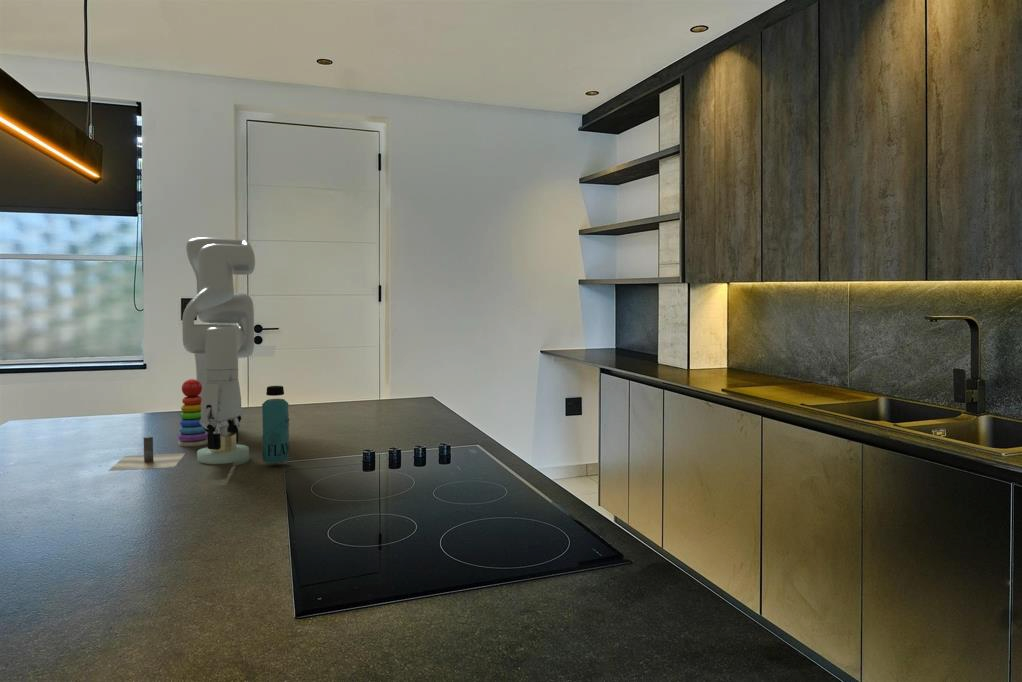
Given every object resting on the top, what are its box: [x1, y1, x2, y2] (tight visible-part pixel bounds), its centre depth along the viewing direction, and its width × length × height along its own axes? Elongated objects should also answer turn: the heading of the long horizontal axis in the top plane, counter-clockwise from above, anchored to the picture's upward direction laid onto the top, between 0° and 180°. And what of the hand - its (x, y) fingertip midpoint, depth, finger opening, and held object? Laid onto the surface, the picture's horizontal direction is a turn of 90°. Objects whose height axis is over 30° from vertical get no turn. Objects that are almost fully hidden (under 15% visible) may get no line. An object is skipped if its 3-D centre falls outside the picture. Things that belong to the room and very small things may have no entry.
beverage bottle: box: [261, 385, 290, 464], centre depth 162 cm, size 6×7×20 cm
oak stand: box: [107, 436, 186, 472], centre depth 161 cm, size 14×14×7 cm
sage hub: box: [196, 426, 250, 467], centre depth 166 cm, size 12×12×9 cm
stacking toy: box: [177, 378, 208, 447], centre depth 181 cm, size 8×8×19 cm
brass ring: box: [210, 432, 237, 453], centre depth 166 cm, size 6×6×4 cm
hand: (223, 445), depth 166 cm, fingers open, 6 cm apart
